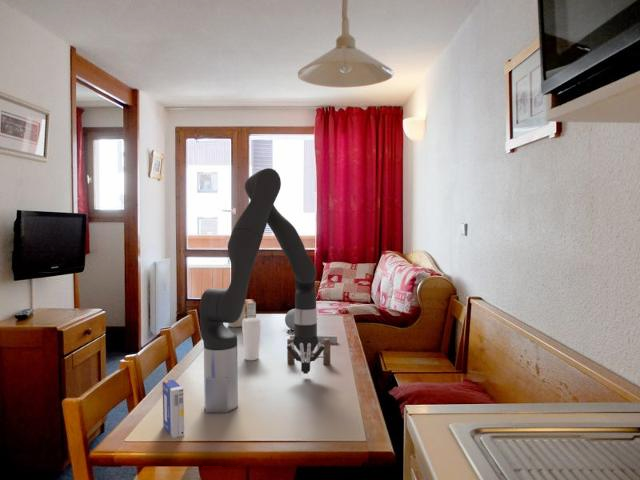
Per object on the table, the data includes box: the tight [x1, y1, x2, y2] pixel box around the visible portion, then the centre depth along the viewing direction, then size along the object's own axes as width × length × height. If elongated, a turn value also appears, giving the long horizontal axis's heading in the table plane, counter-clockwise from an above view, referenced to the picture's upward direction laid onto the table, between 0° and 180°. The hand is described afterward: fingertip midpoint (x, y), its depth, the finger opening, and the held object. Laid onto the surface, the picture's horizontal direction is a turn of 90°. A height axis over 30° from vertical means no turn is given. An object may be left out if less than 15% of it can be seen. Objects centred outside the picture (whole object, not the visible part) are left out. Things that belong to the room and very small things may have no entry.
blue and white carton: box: [162, 379, 185, 439], centre depth 111 cm, size 8×3×12 cm, turn 36°
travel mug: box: [227, 305, 245, 328], centre depth 222 cm, size 8×8×18 cm
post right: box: [322, 339, 331, 366], centre depth 163 cm, size 3×3×9 cm
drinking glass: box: [241, 317, 262, 362], centre depth 169 cm, size 7×7×15 cm
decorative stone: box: [284, 308, 295, 331], centre depth 213 cm, size 10×10×10 cm
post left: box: [286, 337, 296, 365], centre depth 163 cm, size 3×3×9 cm
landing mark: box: [295, 346, 323, 358], centre depth 178 cm, size 14×14×1 cm
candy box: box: [244, 298, 257, 318], centre depth 206 cm, size 9×4×15 cm, turn 17°
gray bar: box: [289, 334, 338, 345], centre depth 191 cm, size 2×20×3 cm, turn 87°
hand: (305, 372), depth 149 cm, fingers closed
